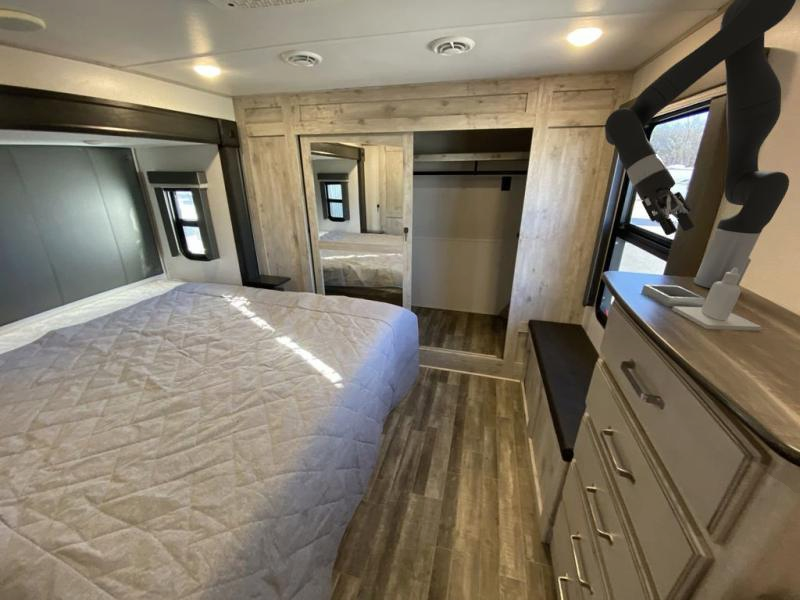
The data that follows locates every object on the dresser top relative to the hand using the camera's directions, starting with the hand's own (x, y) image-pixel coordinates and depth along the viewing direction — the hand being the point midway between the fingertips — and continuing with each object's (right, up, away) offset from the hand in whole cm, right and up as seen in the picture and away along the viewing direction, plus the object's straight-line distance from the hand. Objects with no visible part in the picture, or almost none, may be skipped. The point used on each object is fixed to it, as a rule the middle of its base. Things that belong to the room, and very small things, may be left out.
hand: (681, 231), depth 79 cm
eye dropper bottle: (+4, -21, -4) cm, 22 cm away
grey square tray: (+4, -17, +7) cm, 19 cm away
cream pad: (+4, -22, -4) cm, 23 cm away
